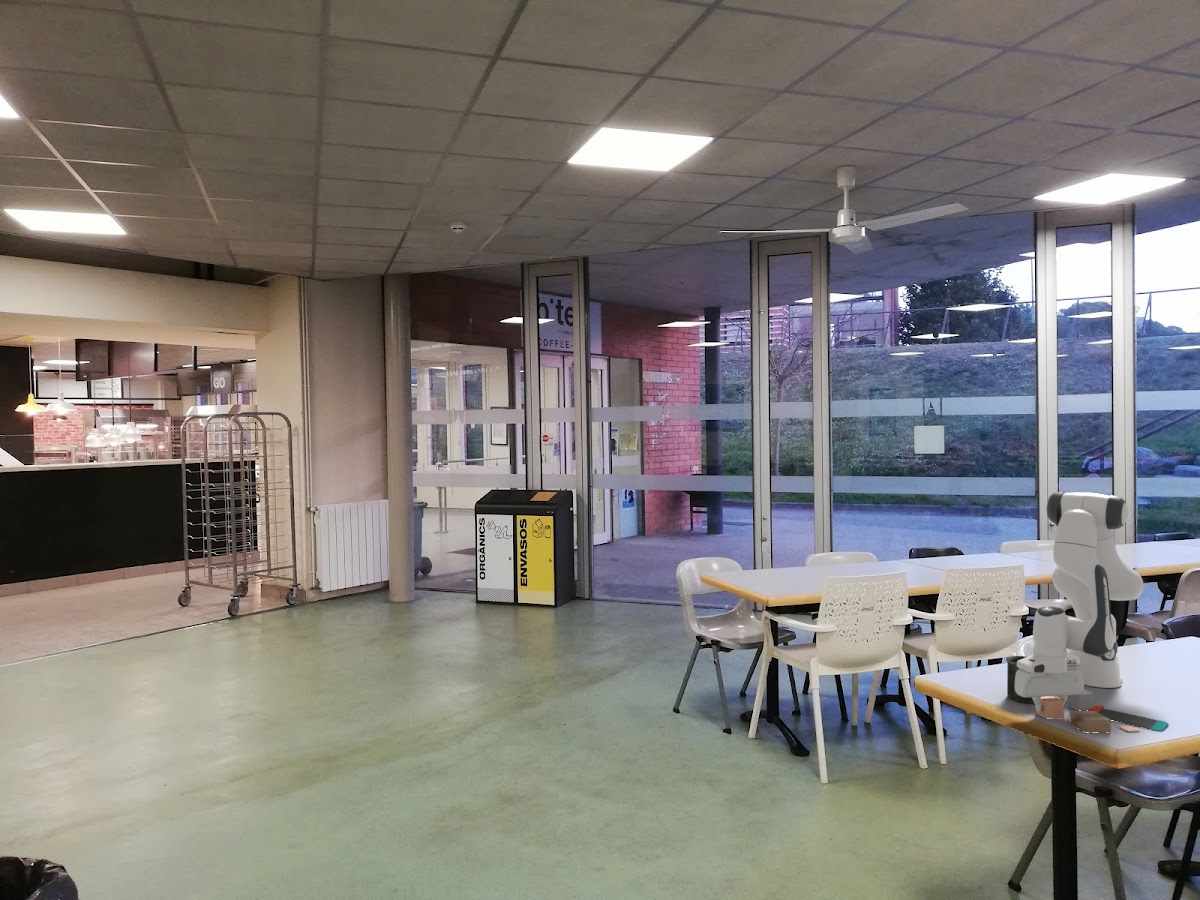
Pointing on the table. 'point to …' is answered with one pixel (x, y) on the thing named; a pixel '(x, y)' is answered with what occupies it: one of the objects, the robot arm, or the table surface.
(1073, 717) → the walnut block
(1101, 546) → the robot arm
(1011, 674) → the mug
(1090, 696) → the grey cube
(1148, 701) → the table surface
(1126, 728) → the tile
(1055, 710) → the terracotta cube
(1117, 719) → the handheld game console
